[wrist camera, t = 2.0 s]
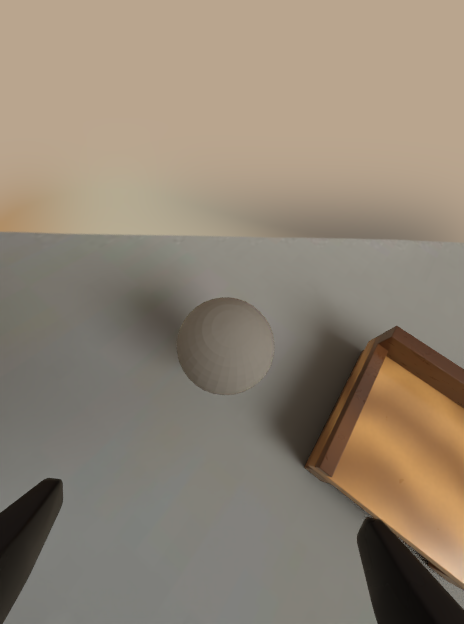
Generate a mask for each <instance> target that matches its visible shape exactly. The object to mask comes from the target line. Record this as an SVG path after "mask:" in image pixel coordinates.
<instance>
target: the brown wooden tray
mask: <svg viewBox="0 0 464 624" xmlns="http://www.w3.org/2000/svg"><path fill="white" fill-rule="evenodd" d="M305 469H307V470H308V471H309V472H310V473H312V474H313V475H314V476H315V477H317V478H318V479H319V480H320V481H323V482H326V483H329V484H332V485H333V486H335V487H336V488H337V489H338V490H340V491H341V492H342V493H343V494H345V495H346V496H347V497H349V498H350V499H351V500H352V501H354V502H355V503H356V504H357V505H359V506H360V507H361V508H362V509H364V510H365V511H366V512H368V513H369V514H370V515H371V516H373V517H374V518H378V519H380V520H382V521H383V522H384V523H385V524H386V525H387V526H388V527H389V529H390V530H391V531H392V532H393V533H394V534H395V535H397V536H398V537H399V538H401V539H402V540H403V541H404V542H406V543H407V544H408V545H409V546H411V547H412V548H413V549H414V550H416V551H417V552H418V553H420V554H421V555H422V556H423V557H425V558H426V559H427V560H428V566H429V567H430V568H432V569H433V570H434V571H435V572H437V573H438V574H439V575H440V576H442V577H443V578H444V579H445V580H447V581H448V582H450V583H452V584H453V585H455V586H457V587H459V588H461V589H463V590H464V369H462V368H461V367H459V366H458V365H456V364H455V363H453V362H452V361H450V360H449V359H447V358H445V357H444V356H442V355H441V354H439V353H438V352H436V351H435V350H433V349H432V348H430V347H429V346H427V345H426V344H424V343H422V342H421V341H419V340H418V339H416V338H415V337H413V336H412V335H410V334H409V333H407V332H406V331H404V330H403V329H401V328H399V327H398V326H395V327H394V328H392V329H390V330H388V331H386V332H385V333H383V334H381V335H379V336H377V337H376V338H374V339H372V340H370V341H369V342H368V344H367V346H366V348H365V349H364V350H363V351H362V352H361V354H360V356H359V358H358V360H357V362H356V364H355V367H354V369H353V371H352V373H351V375H350V377H349V379H348V381H347V383H346V385H345V387H344V389H343V391H342V393H341V395H340V397H339V399H338V401H337V403H336V405H335V407H334V409H333V411H332V413H331V415H330V417H329V419H328V421H327V423H326V425H325V427H324V429H323V431H322V433H321V435H320V437H319V439H318V441H317V443H316V445H315V447H314V449H313V451H312V453H311V455H310V457H309V459H308V461H307V463H306V465H305Z"/></svg>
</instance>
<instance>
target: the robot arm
mask: <svg viewBox="0 0 464 624" xmlns="http://www.w3.org/2000/svg"><path fill="white" fill-rule="evenodd" d="M62 503H63V483H62V480H61V479H55V478H46V479H44V480H43V481H41V482H40V483H39V484H37V485H36V486H35V487H34V488H32V489H31V490H30V491H28V492H27V493H26V494H24V495H23V496H22V497H21V498H19V499H18V500H17V501H15V502H14V503H13V504H11V505H10V506H9V507H7V508H6V509H5V510H4V511H2V512H1V513H0V624H3V622H4V620H5V619H6V617H7V615H8V613H9V612H10V610H11V608H12V606H13V604H14V603H15V601H16V599H17V597H18V596H19V594H20V592H21V590H22V588H23V587H24V585H25V583H26V581H27V579H28V577H29V575H30V573H31V571H32V569H33V567H34V565H35V563H36V560H37V558H38V556H39V554H40V552H41V550H42V548H43V545H44V543H45V541H46V539H47V537H48V535H49V532H50V530H51V528H52V526H53V524H54V522H55V520H56V517H57V515H58V513H59V511H60V509H61V506H62ZM357 544H358V548H359V552H360V556H361V561H362V565H363V569H364V573H365V577H366V581H367V585H368V590H369V594H370V598H371V602H372V606H373V609H374V613H375V616H376V620H377V623H378V624H464V610H463V608H462V607H461V606H460V605H459V604H458V603H457V602H456V601H455V600H454V599H453V597H452V596H451V595H450V594H449V593H448V592H447V591H446V590H445V589H444V588H443V587H442V585H441V584H440V583H439V582H438V581H437V580H436V579H435V578H434V577H433V576H432V574H431V573H430V572H429V571H428V570H427V569H426V568H425V567H424V566H423V565H422V564H421V562H420V561H419V560H418V559H417V558H416V557H415V556H414V555H413V554H412V553H411V552H410V550H409V549H408V548H407V547H406V546H405V545H404V544H403V543H402V542H401V541H400V539H399V538H398V537H397V536H396V535H395V534H394V533H393V532H392V531H391V530H390V529H389V527H388V526H387V525H386V524H385V523H384V522H383V521H382V520H380V519H378V518H370V517H367V518H366V519H365V520H364V522H363V524H362V526H361V528H360V530H359V532H358V535H357Z"/></svg>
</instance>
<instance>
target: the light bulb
mask: <svg viewBox="0 0 464 624" xmlns="http://www.w3.org/2000/svg"><path fill="white" fill-rule="evenodd" d="M177 353H178V358H179V362H180V364H181V367H182V369H183V371H184V372H185V374H186V375H187V376H188V378H189V379H190V380H191V381H192V382H193V383H194V384H195V385H197V386H198V387H200V388H202V389H203V390H205V391H208V392H210V393H213V394H219V395H233V394H237V393H241V392H244V391H246V390H248V389H250V388H252V387H253V386H254V385H256V384H257V383H258V382H259V381H260V380H262V378H263V377H264V376H265V374H266V373H267V372H268V370H269V368H270V366H271V363H272V359H273V356H274V339H273V333H272V330H271V328H270V325H269V323H268V322H267V320H266V318H265V317H264V316H263V315H262V314H261V313H260V311H259V310H257V309H256V308H255V307H254V306H252V305H251V304H249V303H247V302H245V301H242V300H239V299H235V298H217V299H212V300H209V301H206V302H204V303H202V304H201V305H199V306H197V307H196V308H195V309H194V310H193V311H192V312H191V313H189V315H188V316H187V317H186V319H185V320H184V321H183V323H182V326H181V328H180V330H179V333H178V338H177Z"/></svg>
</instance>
